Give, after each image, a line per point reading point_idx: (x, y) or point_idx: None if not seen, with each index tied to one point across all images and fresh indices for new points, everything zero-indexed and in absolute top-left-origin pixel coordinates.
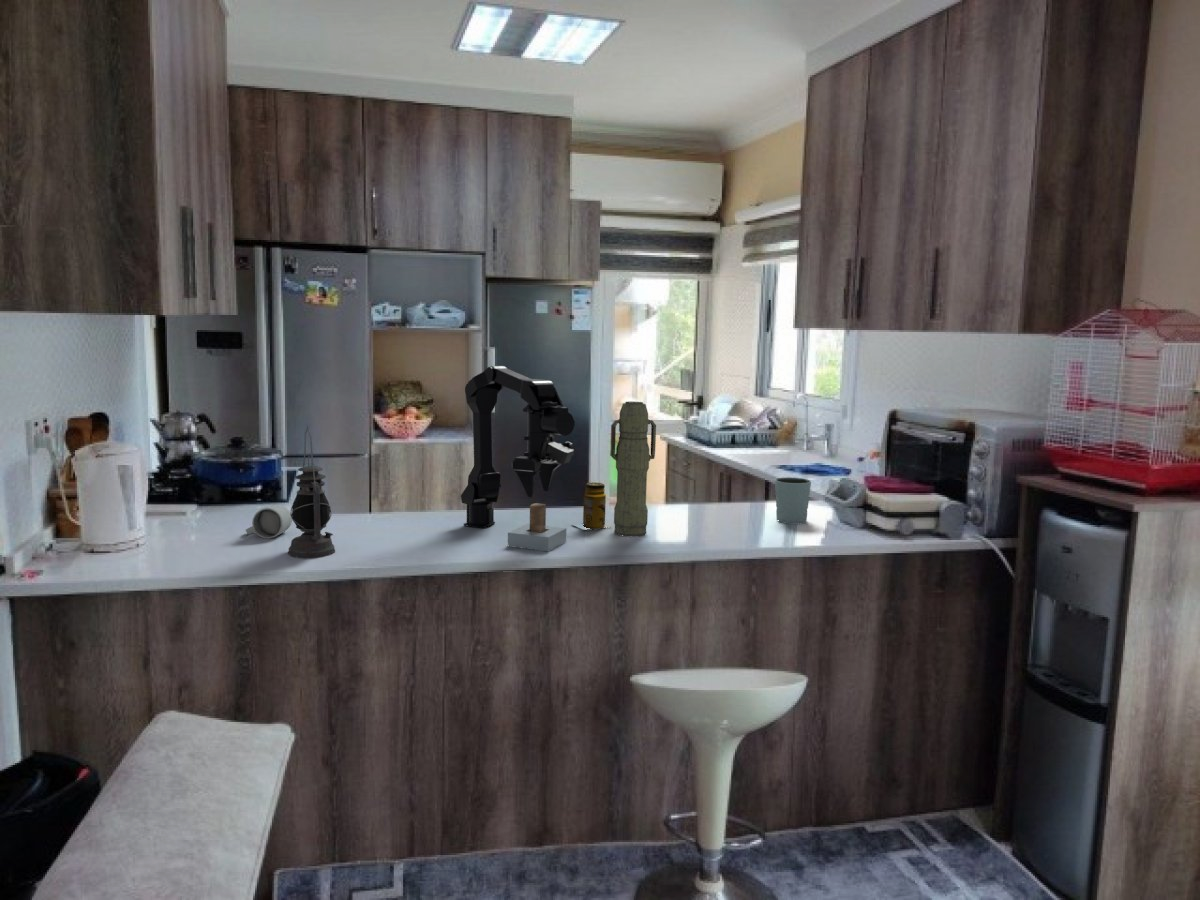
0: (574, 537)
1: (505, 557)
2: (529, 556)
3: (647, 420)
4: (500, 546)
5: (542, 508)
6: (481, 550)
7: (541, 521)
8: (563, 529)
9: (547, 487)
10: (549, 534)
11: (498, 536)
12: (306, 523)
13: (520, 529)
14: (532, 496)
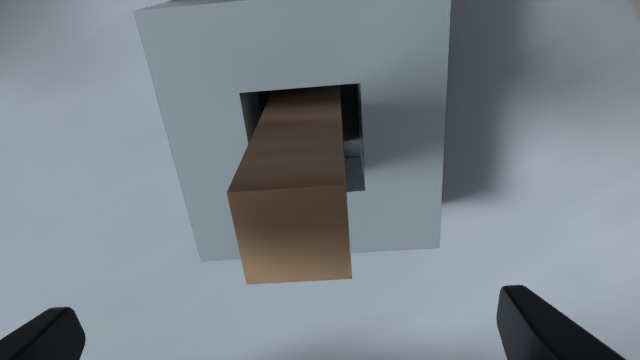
0: (49, 9)
1: (632, 116)
2: (577, 17)
3: None
4: None
5: (308, 175)
6: (536, 260)
7: (327, 130)
8: (182, 7)
9: (44, 341)
10: (370, 19)
11: (284, 312)
12: None
13: None
14: (510, 287)
